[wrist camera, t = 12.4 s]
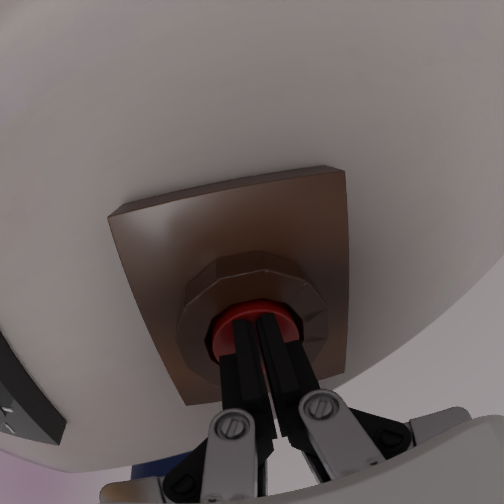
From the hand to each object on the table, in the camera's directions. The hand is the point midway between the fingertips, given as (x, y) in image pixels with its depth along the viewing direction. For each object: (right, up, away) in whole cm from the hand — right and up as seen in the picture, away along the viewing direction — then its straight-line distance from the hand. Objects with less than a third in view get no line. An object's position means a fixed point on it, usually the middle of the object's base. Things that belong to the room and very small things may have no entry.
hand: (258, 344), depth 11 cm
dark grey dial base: (-25, -7, +4) cm, 26 cm away
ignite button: (0, +1, +2) cm, 2 cm away
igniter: (-1, +1, +4) cm, 4 cm away
